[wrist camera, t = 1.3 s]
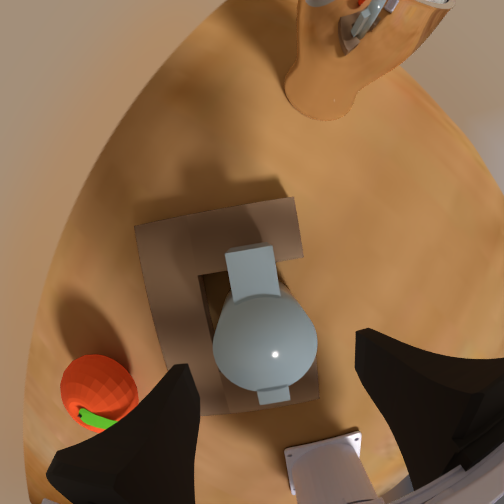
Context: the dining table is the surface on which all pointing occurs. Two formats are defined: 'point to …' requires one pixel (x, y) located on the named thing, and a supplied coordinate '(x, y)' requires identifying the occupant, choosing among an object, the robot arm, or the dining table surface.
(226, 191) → the dining table surface
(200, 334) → the dock
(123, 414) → the clementine
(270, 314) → the grey tabbed rounded part
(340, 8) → the beer glass
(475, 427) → the robot arm
